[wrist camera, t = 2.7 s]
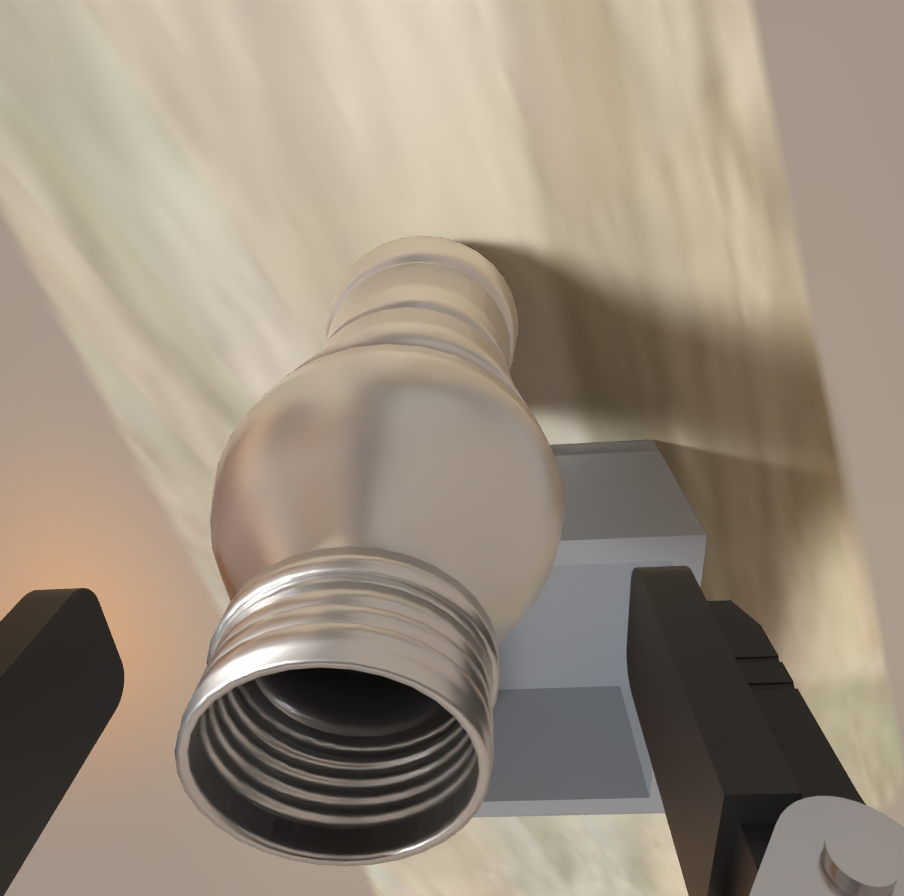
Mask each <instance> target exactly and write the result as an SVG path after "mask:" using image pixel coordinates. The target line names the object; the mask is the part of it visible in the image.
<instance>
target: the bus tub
mask: <svg viewBox="0 0 904 896" xmlns="http://www.w3.org/2000/svg"><path fill="white" fill-rule="evenodd" d="M550 448H551V450H552V452H553V455H554V457H555V459H556V462H557V465H558V469H559V472H560V476H561V480H562V483H563V487H564V510H565V519H564V523H563V528H562V533H561V537H560V542H559V547H558V550H557V554H556V557H555V561H554V565H553V568H552V572H551V574H550V577H549V579H548V581H547V583H546V585H545V587H544V589H543V591H542V593H541V596H540V597H539V599H538V600H537V601H536V603H535V604H534V605H533V607H532V608H531V609H530V610H529V612H528V613H527V614H526V616H525V617H524V618H523V619H522V620H521V621H520V623H519V624H518V625H517V626H516V627H515V628H514V629H513V630H512V631H511V632H510V633H509V634H508V635H507V636H506V637H505V638H504V639H503V640H502V641H501V642H500V643H499V644H498V651H499V670H500V683H499V689H498V694H497V700H496V703H495V705H494V707H493V744H494V760H493V765H492V770H491V776H490V781H489V786H488V791H487V794H486V796H485V798H484V800H483V802H482V804H481V806H480V808H479V810H478V812H477V813H476V814H475V815H474V816H473V817H510V816H555V815H601V814H646V813H665V810H664V807H663V803H662V800H661V796H660V793H659V789H658V786H657V782H656V778H655V775H654V771H653V768H652V764H651V761H650V757H649V754H648V750H647V747H646V743H645V740H644V736H643V733H642V729H641V726H640V722H639V719H638V715H637V712H636V708H635V705H634V701H633V697H632V694H631V690H630V685H629V679H628V671H627V658H626V648H627V631H628V616H629V600H630V584H631V575H632V571H633V569H634V568H636V567H661V566H688V567H689V568H690V569H691V570H692V572H693V574H694V576H695V578H696V580H697V582H698V584H699V586H700V588H701V581H702V573H703V565H704V557H705V549H706V541H707V533H706V531H705V530H704V528H703V526H702V524H701V523H700V521H699V519H698V517H697V516H696V514H695V512H694V510H693V508H692V507H691V505H690V503H689V501H688V500H687V498H686V496H685V494H684V493H683V491H682V489H681V487H680V486H679V484H678V482H677V480H676V479H675V477H674V475H673V473H672V472H671V470H670V468H669V466H668V465H667V463H666V461H665V459H664V458H663V456H662V454H661V452H660V451H659V449H658V447H657V445H656V444H655V442H654V440H642V441H622V442H603V443H583V444H563V445H550Z"/></svg>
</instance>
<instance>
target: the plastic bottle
mask: <svg viewBox="0 0 904 896" xmlns="http://www.w3.org/2000/svg"><path fill="white" fill-rule="evenodd" d="M517 336H518V314H517V309H516V305H515V302H514V298H513V294H512V293H511V291H510V289H509V287H508V285H507V283H506V281H505V279H504V278H503V276H502V275H501V274H500V273H499V271H498V270H497V269H496V268H495V266H494V265H493V264H492V263H491V262H489V261H488V260H487V259H486V258H485V257H483V256H482V255H481V254H480V253H478V252H477V251H475V250H473V249H471V248H469V247H467V246H465V245H463V244H461V243H459V242H455V241H452V240H448V239H445V238H441V237H429V236H416V237H408V238H401V239H398V240H395V241H392V242H389V243H386V244H383V245H381V246H379V247H378V248H376V249H374V250H372V251H371V252H369V253H367V254H365V255H364V256H363V257H362V258H361V259H360V260H359V261H358V262H356V263H355V264H354V265H353V266H352V267H351V268H350V269H349V271H348V272H347V273H346V275H345V276H344V278H343V279H342V280H341V282H340V283H339V286H338V288H337V290H336V292H335V294H334V296H333V298H332V303H331V307H330V311H329V316H328V321H327V326H326V341H325V344H324V345H323V346H322V348H321V349H320V350H319V351H318V353H317V354H316V355H314V356H313V357H312V358H310V359H309V360H308V361H306V362H305V363H303V364H302V365H301V366H299V367H298V368H297V369H295V370H294V371H293V372H291V373H290V374H288V375H287V376H286V377H285V378H283V379H282V380H281V381H280V382H279V383H278V384H276V385H275V386H274V387H273V388H272V389H270V390H269V391H268V392H267V393H266V394H265V395H264V396H263V397H262V398H261V399H260V400H259V401H258V402H257V403H256V404H255V405H254V406H253V407H252V408H251V409H250V410H249V412H248V413H247V414H246V416H245V417H244V418H243V420H242V421H241V422H240V423H239V425H238V426H237V427H236V429H235V430H234V431H233V433H232V434H231V435H230V437H229V439H228V442H227V444H226V446H225V449H224V451H223V453H222V455H221V458H220V460H219V462H218V465H217V471H216V477H215V483H214V489H213V496H212V506H211V517H210V527H211V541H212V550H213V553H214V556H215V560H216V563H217V566H218V569H219V572H220V575H221V578H222V580H223V583H224V585H225V588H226V591H227V593H228V596H229V598H230V601H231V602H230V604H229V606H228V608H227V610H226V611H225V613H224V615H223V617H222V619H221V621H220V623H219V625H218V628H217V630H216V632H215V633H214V635H213V637H212V639H211V642H210V647H209V652H208V658H207V667H206V669H205V671H204V673H203V675H202V678H201V680H200V682H199V684H198V686H197V688H196V690H195V692H194V694H193V696H192V698H191V700H190V702H189V704H188V706H187V708H186V710H185V712H184V714H183V716H182V721H181V726H180V729H179V731H178V736H177V742H176V748H175V759H176V767H177V773H178V776H179V778H180V780H181V783H182V785H183V787H184V790H185V792H186V793H187V795H188V796H189V797H190V799H191V800H192V802H193V803H194V804H195V806H196V807H197V808H198V810H199V811H200V812H201V813H202V814H204V815H205V816H206V817H207V818H208V819H209V820H211V822H212V823H214V824H215V825H216V826H217V827H218V828H220V829H221V830H223V831H225V832H226V833H228V834H229V835H231V836H232V837H234V838H236V839H237V840H239V841H241V842H243V843H245V844H248V845H250V846H252V847H254V848H256V849H258V850H261V851H263V852H266V853H269V854H273V855H276V856H279V857H282V858H286V859H289V860H294V861H300V862H306V863H311V864H317V865H333V866H358V865H373V864H379V863H384V862H390V861H396V860H400V859H403V858H406V857H409V856H412V855H416V854H419V853H422V852H424V851H426V850H428V849H430V848H432V847H434V846H436V845H438V844H440V843H442V842H444V841H446V840H447V839H449V838H450V837H451V836H453V835H454V834H455V833H457V832H458V831H459V830H461V829H462V828H463V827H464V826H465V825H466V824H467V823H468V822H469V821H470V820H471V818H472V817H473V816H474V815H475V814H476V813H477V812H478V810H479V808H480V806H481V804H482V802H483V800H484V798H485V796H486V794H487V791H488V786H489V781H490V776H491V770H492V765H493V760H494V744H493V707H494V705H495V703H496V700H497V694H498V689H499V683H500V670H499V651H498V644H499V643H500V642H501V641H502V640H503V639H504V638H505V637H506V636H507V635H508V634H509V633H510V632H511V631H512V630H513V629H514V628H515V627H516V626H517V625H518V624H519V623H520V621H521V620H522V619H523V618H524V617H525V616H526V614H527V613H528V612H529V610H530V609H531V608H532V607H533V605H534V604H535V603H536V601H537V600H538V599H539V597H540V596H541V593H542V591H543V589H544V587H545V585H546V583H547V581H548V579H549V577H550V574H551V572H552V568H553V565H554V561H555V557H556V554H557V550H558V547H559V542H560V537H561V533H562V528H563V523H564V519H565V510H564V487H563V483H562V480H561V476H560V472H559V469H558V465H557V462H556V459H555V457H554V455H553V452H552V450H551V448H550V445H549V443H548V440H547V438H546V436H545V435H544V433H543V431H542V429H541V427H540V425H539V424H538V422H537V420H536V418H535V416H534V414H533V413H532V412H531V411H530V409H529V407H528V406H527V404H526V403H525V401H524V400H523V398H522V397H521V395H520V394H519V392H518V391H517V389H516V388H515V386H514V384H513V381H512V378H511V375H510V368H511V365H512V362H513V360H514V355H515V349H516V343H517Z"/></svg>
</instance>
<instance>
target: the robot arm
mask: <svg viewBox="0 0 904 896" xmlns="http://www.w3.org/2000/svg"><path fill="white" fill-rule="evenodd" d="M626 658H627V671H628V679H629V685H630V690H631V694H632V697H633V701H634V705H635V708H636V712H637V715H638V719H639V722H640V726H641V729H642V733H643V736H644V740H645V743H646V747H647V750H648V754H649V757H650V761H651V764H652V768H653V771H654V775H655V778H656V782H657V786H658V789H659V793H660V796H661V800H662V803H663V807H664V810H665V814H666V817H667V821H668V824H669V828H670V831H671V835H672V838H673V842H674V845H675V849H676V852H677V856H678V859H679V863H680V866H681V870H682V874H683V877H684V881H685V884H686V888H687V891H688V895H689V896H904V828H903V827H902V826H901V825H900V824H898V823H897V822H895V821H894V820H892V819H891V818H889V817H888V816H886V815H885V814H883V813H881V812H879V811H877V810H875V809H873V808H871V807H869V806H867V805H866V804H865V803H864V801H863V800H862V798H861V797H860V795H859V794H858V792H857V790H856V789H855V787H854V785H853V784H852V782H851V780H850V778H849V777H848V775H847V773H846V771H845V770H844V768H843V766H842V765H841V763H840V761H839V759H838V758H837V756H836V754H835V753H834V751H833V749H832V747H831V746H830V744H829V742H828V740H827V739H826V737H825V735H824V734H823V732H822V730H821V728H820V727H819V725H818V723H817V721H816V720H815V718H814V716H813V715H812V713H811V711H810V709H809V708H808V706H807V704H806V703H805V701H804V699H803V697H802V696H801V694H800V692H799V690H798V689H795V688H794V684H793V680H792V678H791V677H790V675H789V673H788V672H787V670H786V668H785V666H784V665H783V663H782V662H779V659H778V654H777V653H776V651H775V649H774V647H773V646H772V644H771V642H770V641H769V639H768V637H767V635H766V634H765V632H764V630H763V628H762V627H761V625H760V624H758V623H757V622H756V621H755V620H754V619H752V618H751V617H750V616H749V615H748V614H746V613H745V612H744V611H743V610H742V609H740V608H739V607H738V606H737V605H735V604H734V603H733V602H732V601H731V600H728V601H707V600H706V598H705V596H704V594H703V592H702V590H701V588H700V586H699V584H698V582H697V580H696V578H695V576H694V574H693V572H692V570H691V569H690V568H689V567H688V566H661V567H636V568H634V569H633V571H632V575H631V584H630V600H629V616H628V631H627V648H626ZM123 687H124V669H123V664H122V661H121V659H120V656H119V653H118V651H117V648H116V645H115V643H114V640H113V638H112V635H111V632H110V630H109V627H108V624H107V622H106V619H105V616H104V614H103V611H102V609H101V606H100V604H99V601H98V599H97V597H96V595H95V594H94V593H93V592H92V591H91V590H89V589H86V588H76V589H53V590H34V591H32V592H30V593H28V594H26V595H25V596H24V597H23V598H22V599H21V600H20V601H19V602H18V603H17V604H16V605H15V607H14V608H13V609H12V610H11V611H10V612H9V613H8V614H7V615H6V616H5V617H4V618H3V620H1V621H0V896H4V894H5V892H6V891H7V889H8V888H9V886H10V884H11V883H12V881H13V879H14V878H15V876H16V874H17V873H18V871H19V869H20V868H21V866H22V864H23V863H24V861H25V859H26V858H27V856H28V854H29V853H30V851H31V850H32V848H33V846H34V844H35V843H36V841H37V839H38V838H39V836H40V834H41V833H42V831H43V829H44V828H45V826H46V825H47V823H48V821H49V820H50V818H51V816H52V815H53V813H54V811H55V810H56V808H57V806H58V805H59V803H60V801H61V800H62V798H63V797H64V795H65V793H66V792H67V790H68V788H69V787H70V785H71V783H72V782H73V780H74V778H75V777H76V775H77V773H78V771H79V770H80V768H81V767H82V765H83V763H84V762H85V760H86V758H87V757H88V755H89V753H90V752H91V750H92V748H93V747H94V745H95V744H96V742H97V740H98V738H99V737H100V735H101V734H102V732H103V730H104V729H105V727H106V725H107V724H108V722H109V720H110V719H111V717H112V715H113V713H114V712H115V710H116V709H117V707H118V705H119V702H120V700H121V696H122V692H123Z"/></svg>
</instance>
